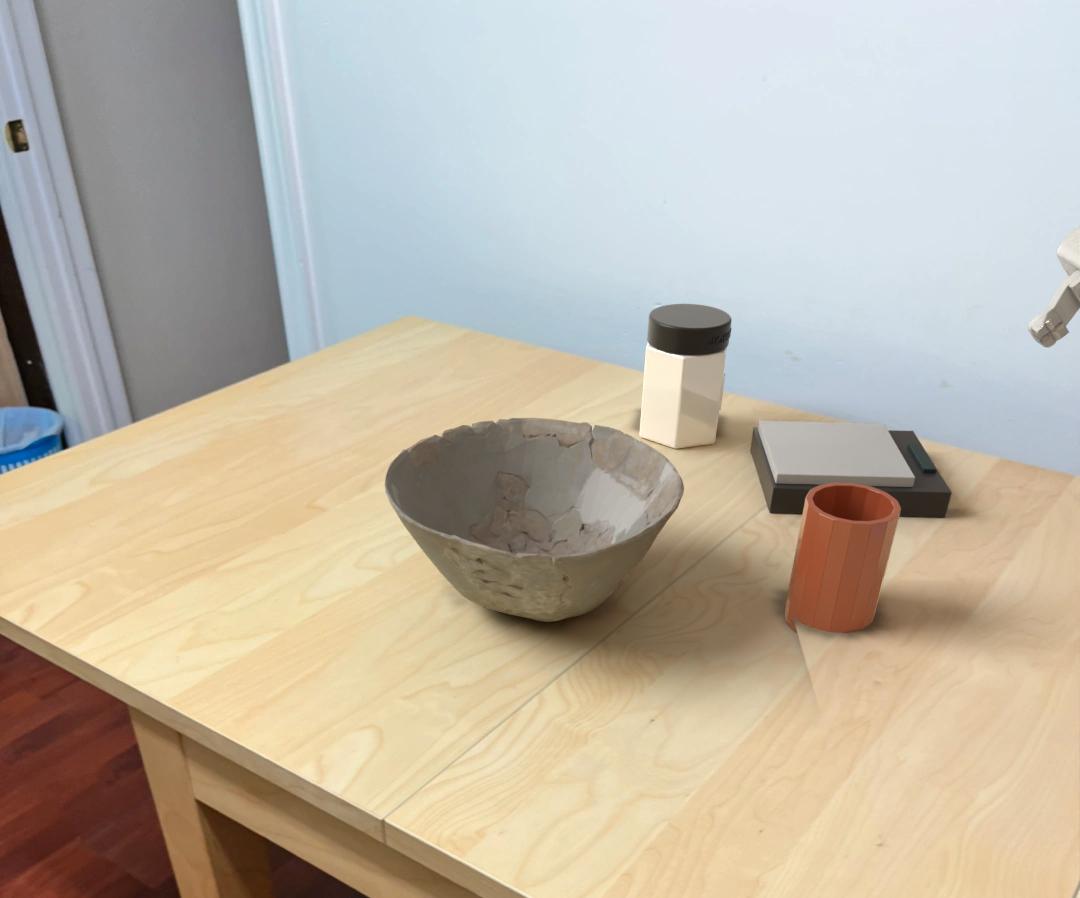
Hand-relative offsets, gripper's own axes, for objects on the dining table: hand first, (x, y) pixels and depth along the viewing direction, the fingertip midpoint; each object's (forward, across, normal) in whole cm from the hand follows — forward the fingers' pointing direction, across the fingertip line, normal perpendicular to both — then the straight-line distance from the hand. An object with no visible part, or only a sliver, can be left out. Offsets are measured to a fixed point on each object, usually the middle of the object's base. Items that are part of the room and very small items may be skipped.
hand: (1069, 362), depth 69 cm
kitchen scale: (+16, -25, +12) cm, 32 cm away
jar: (+26, -38, +3) cm, 46 cm away
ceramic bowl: (+39, -7, -10) cm, 41 cm away
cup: (+23, -1, +6) cm, 24 cm away
